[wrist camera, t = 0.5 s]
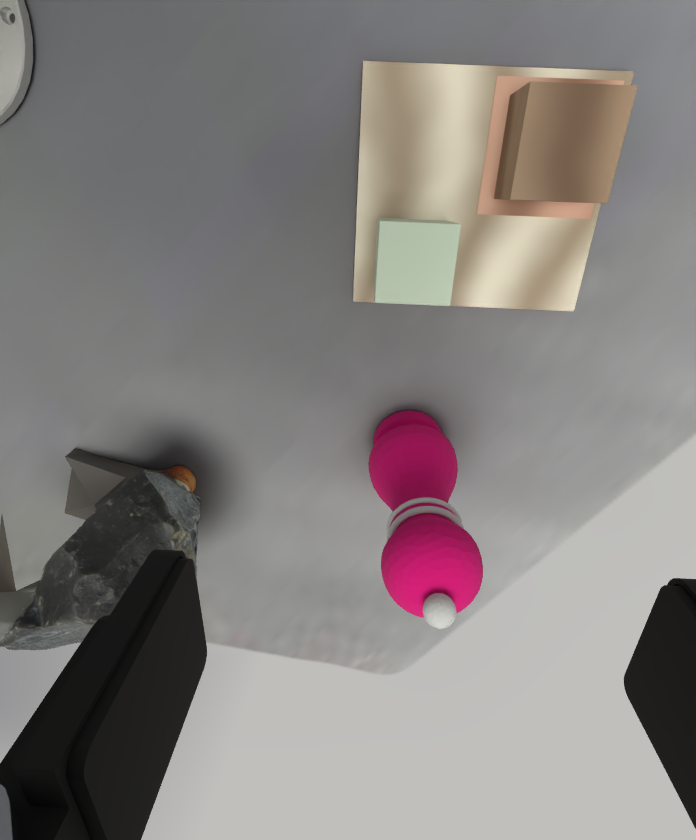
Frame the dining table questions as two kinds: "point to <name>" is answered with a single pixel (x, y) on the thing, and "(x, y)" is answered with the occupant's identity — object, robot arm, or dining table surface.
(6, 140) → the dining table surface
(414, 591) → the pepper mill
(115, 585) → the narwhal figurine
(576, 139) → the walnut base block
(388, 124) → the cream wavy board
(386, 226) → the sage block
